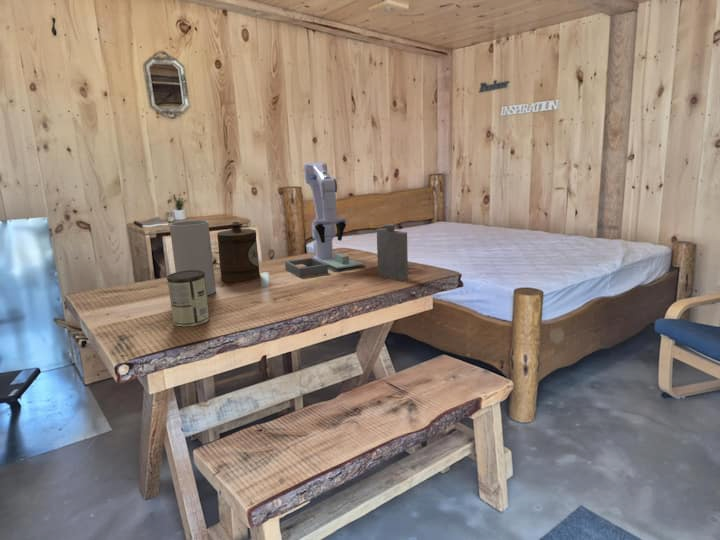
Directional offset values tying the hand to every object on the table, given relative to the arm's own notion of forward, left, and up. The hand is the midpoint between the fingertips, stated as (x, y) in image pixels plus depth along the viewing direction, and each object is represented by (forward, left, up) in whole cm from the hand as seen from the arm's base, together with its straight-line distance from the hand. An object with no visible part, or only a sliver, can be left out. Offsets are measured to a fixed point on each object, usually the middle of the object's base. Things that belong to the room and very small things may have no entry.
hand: (331, 241), depth 201 cm
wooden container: (-4, -38, -11) cm, 40 cm away
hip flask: (+31, +10, -11) cm, 34 cm away
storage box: (+3, -13, -10) cm, 17 cm away
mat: (+3, +3, -10) cm, 11 cm away
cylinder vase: (+10, -57, -11) cm, 59 cm away
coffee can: (+39, -64, -11) cm, 75 cm away
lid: (+2, +3, -10) cm, 11 cm away
